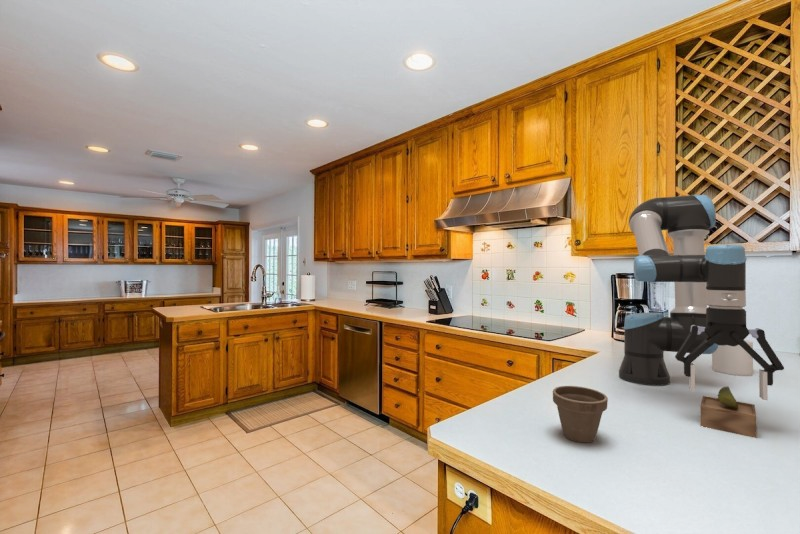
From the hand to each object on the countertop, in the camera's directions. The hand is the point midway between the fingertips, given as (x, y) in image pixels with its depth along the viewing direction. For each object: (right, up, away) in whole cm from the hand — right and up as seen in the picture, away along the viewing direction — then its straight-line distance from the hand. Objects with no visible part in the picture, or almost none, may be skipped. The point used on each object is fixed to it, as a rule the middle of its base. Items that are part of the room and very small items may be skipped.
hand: (726, 394), depth 94 cm
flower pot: (-39, -8, -7) cm, 41 cm away
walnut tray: (0, -8, 0) cm, 8 cm away
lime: (0, -3, 0) cm, 3 cm away
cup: (+46, -9, +51) cm, 69 cm away
